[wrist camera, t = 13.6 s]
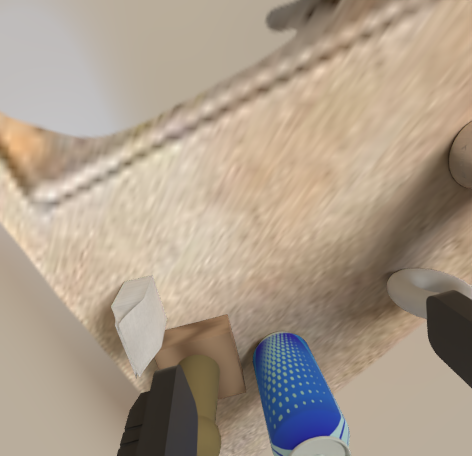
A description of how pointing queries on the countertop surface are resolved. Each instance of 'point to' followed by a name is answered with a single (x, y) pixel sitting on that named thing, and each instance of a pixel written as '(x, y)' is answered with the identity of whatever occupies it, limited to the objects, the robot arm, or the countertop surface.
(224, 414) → the countertop surface
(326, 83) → the countertop surface
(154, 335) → the white tall box
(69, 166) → the countertop surface
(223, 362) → the walnut base
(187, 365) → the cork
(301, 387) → the beer can
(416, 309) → the donut
